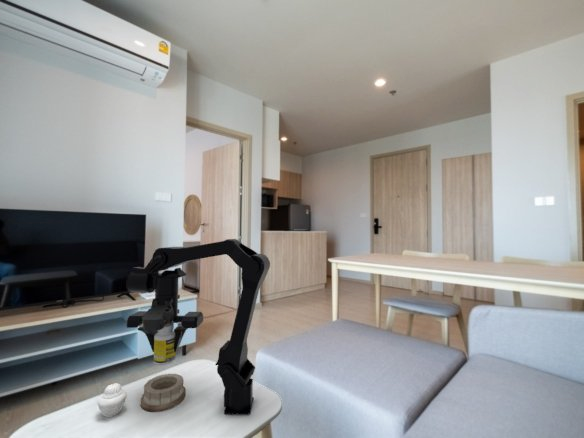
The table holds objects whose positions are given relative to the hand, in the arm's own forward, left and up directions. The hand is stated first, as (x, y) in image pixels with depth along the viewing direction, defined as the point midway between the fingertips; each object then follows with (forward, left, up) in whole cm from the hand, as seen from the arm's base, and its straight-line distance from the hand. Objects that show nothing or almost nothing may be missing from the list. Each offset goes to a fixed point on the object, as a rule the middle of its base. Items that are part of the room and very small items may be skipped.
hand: (165, 351), depth 75 cm
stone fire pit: (0, 0, -12) cm, 13 cm away
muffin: (+10, +6, -13) cm, 17 cm away
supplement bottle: (0, 0, -3) cm, 3 cm away
